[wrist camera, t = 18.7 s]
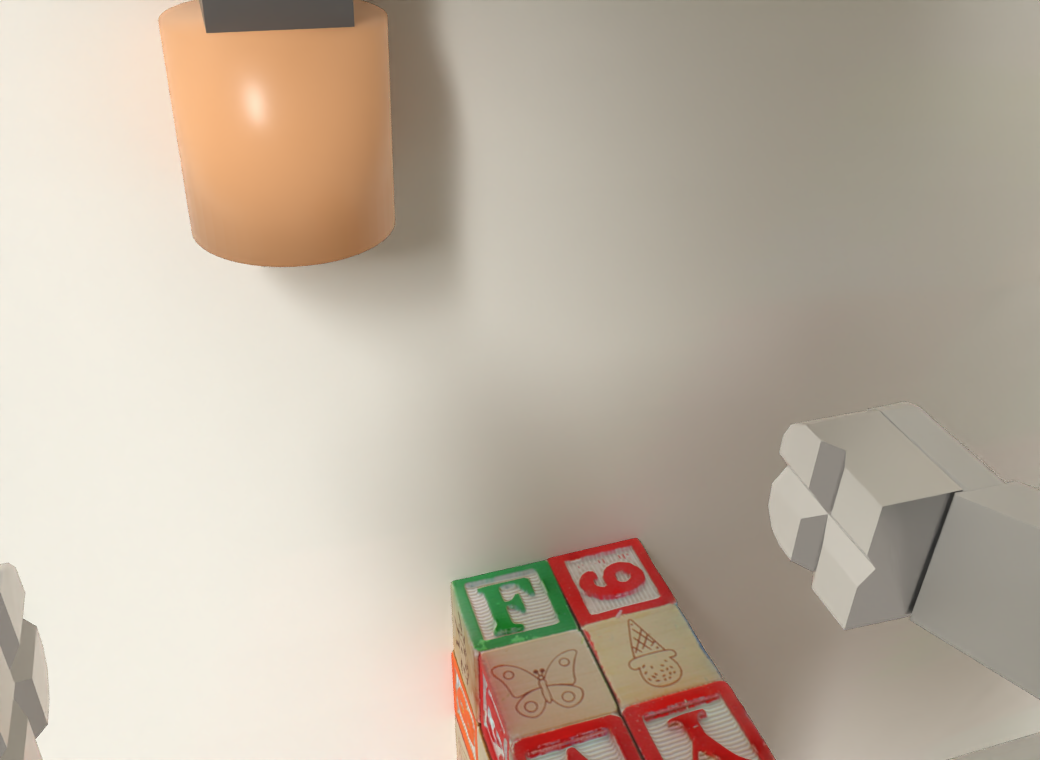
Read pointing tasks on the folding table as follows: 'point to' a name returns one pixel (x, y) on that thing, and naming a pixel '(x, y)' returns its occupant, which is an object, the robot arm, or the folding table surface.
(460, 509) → the folding table surface
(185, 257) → the folding table surface
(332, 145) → the plug
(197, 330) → the folding table surface
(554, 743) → the stack of blocks
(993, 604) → the robot arm
